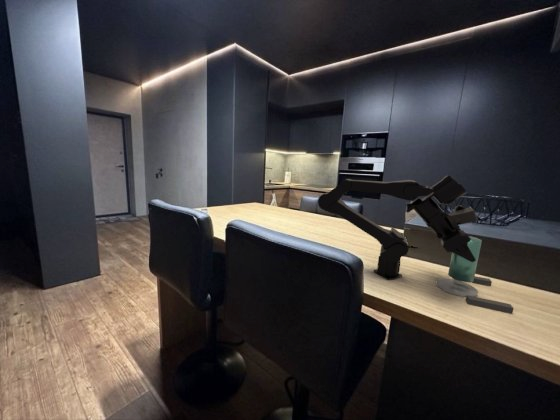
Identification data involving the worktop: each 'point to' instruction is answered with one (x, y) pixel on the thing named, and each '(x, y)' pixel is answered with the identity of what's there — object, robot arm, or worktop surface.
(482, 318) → the worktop surface
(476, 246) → the tin canister
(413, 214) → the plastic bottle
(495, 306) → the cord right
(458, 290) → the slate coaster
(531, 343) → the worktop surface
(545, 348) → the worktop surface
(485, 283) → the cord left
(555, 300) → the worktop surface
